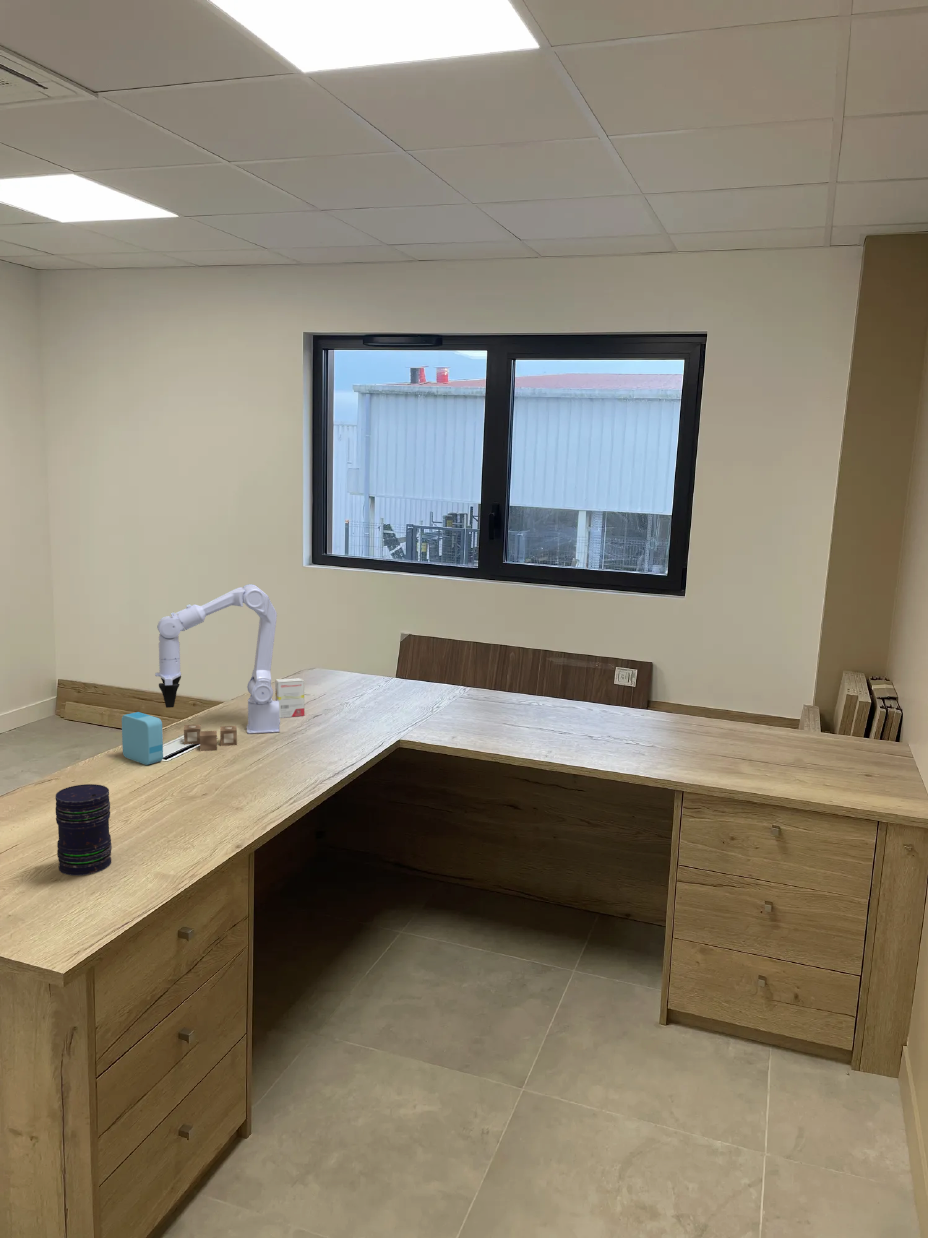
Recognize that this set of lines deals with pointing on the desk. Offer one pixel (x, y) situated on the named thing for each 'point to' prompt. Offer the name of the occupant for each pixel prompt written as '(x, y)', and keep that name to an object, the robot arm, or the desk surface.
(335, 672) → the desk surface
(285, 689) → the ink box
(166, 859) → the desk surface
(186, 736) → the marked block 1
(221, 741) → the marked block 2
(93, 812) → the dark blue barrel
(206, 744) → the plain block
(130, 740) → the data package
